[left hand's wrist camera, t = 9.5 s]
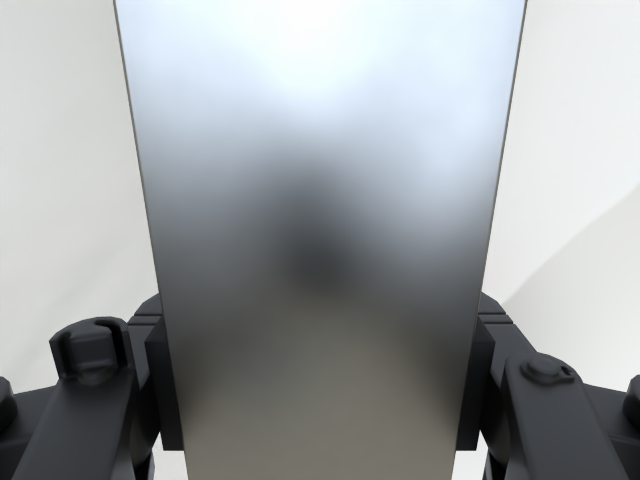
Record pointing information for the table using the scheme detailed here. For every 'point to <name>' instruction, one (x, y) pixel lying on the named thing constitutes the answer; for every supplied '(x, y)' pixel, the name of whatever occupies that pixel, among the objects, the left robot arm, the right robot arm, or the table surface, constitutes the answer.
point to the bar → (320, 222)
